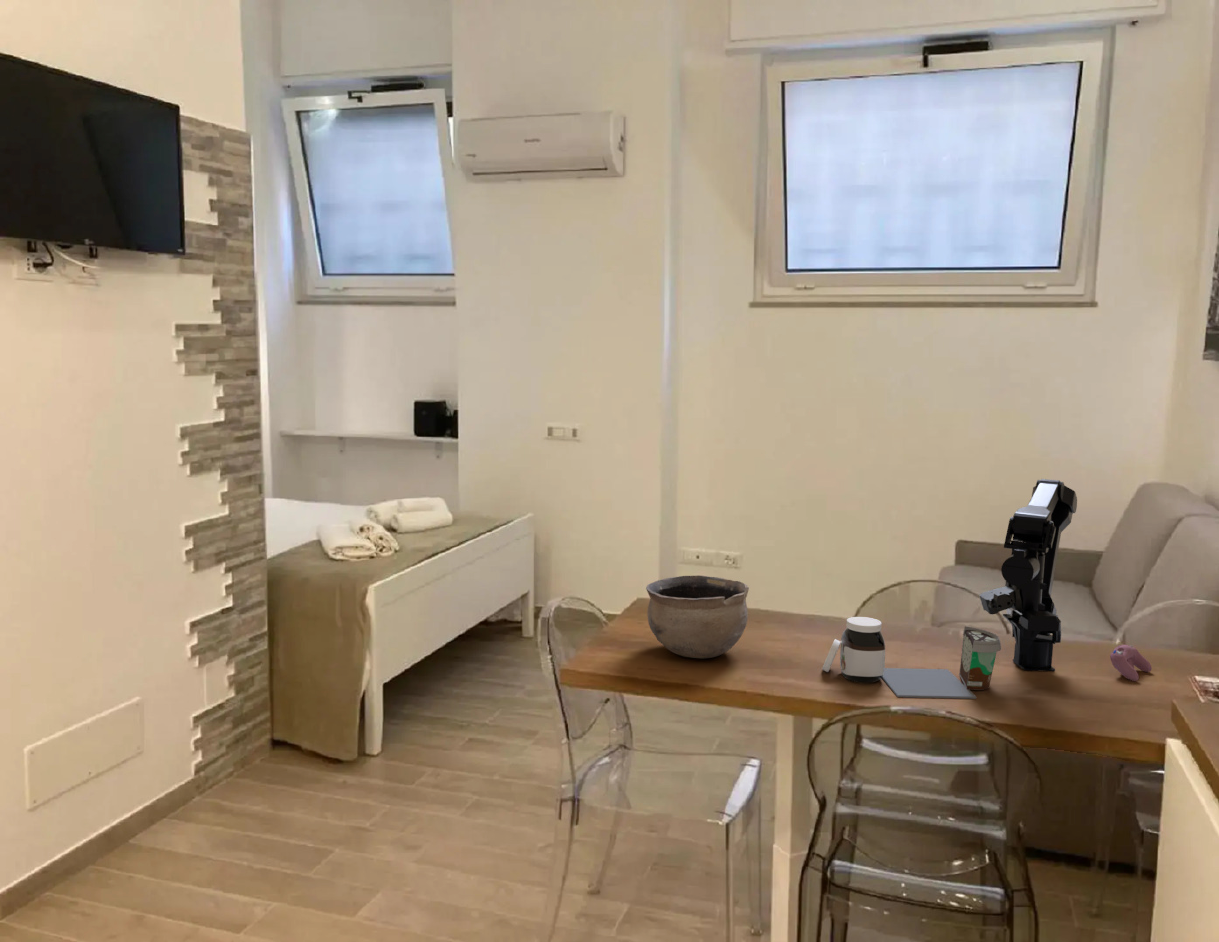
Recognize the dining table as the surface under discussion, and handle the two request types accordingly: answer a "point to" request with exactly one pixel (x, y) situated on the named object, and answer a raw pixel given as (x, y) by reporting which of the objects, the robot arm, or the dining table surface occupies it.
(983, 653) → the food container
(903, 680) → the mat
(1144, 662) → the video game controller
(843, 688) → the dining table surface
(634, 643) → the dining table surface
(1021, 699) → the dining table surface
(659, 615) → the ceramic bowl
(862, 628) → the spread jar
